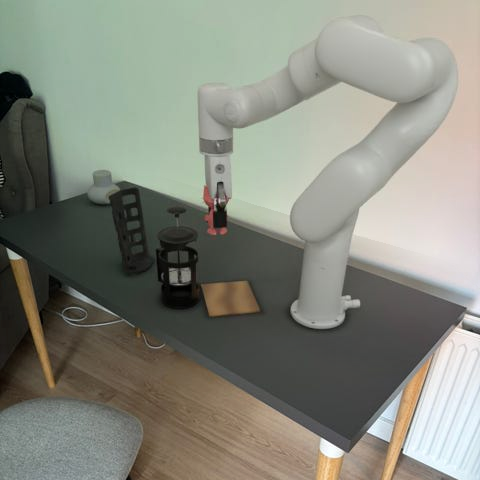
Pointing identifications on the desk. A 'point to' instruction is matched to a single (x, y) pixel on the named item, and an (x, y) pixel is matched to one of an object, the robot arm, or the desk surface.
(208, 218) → the cat figurine
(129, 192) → the holder
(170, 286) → the french press
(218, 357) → the desk surface
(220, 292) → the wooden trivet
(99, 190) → the air freshener
